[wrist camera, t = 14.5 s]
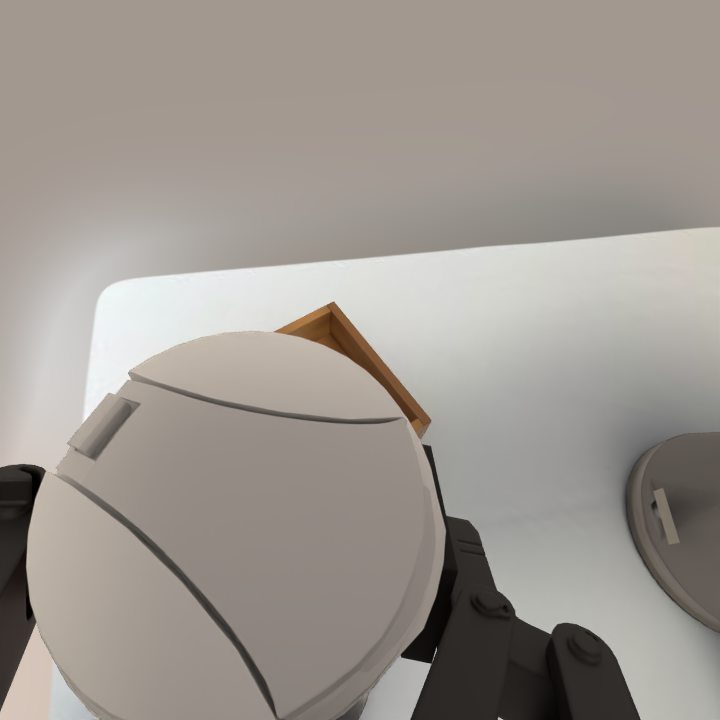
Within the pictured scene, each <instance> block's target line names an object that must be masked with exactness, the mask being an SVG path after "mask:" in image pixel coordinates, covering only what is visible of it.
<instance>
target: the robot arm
mask: <svg viewBox="0 0 720 720" xmlns="http://www.w3.org/2000/svg"><path fill="white" fill-rule="evenodd" d="M422 446H423V449H424V451H425V454H426V456H427V459H428V462H429V464H430V467H431V470H432V475H433V480H434V484H435V489H436V493H437V498H438V501H439V505H440V509H441V513H442V517H443V521H444V525H445V529H446V535H445V549H444V563H443V567H442V572H441V576H440V581H439V585H438V590H437V594H436V598H435V600H434V603H433V605H432V608H431V611H430V613H429V616H428V618H427V621H426V624H425V626H424V629H423V630H422V631H421V632H420V634H419V635H418V636H417V637H416V638H415V639H414V640H413V641H412V642H411V643H410V645H409V646H408V647H407V648H406V649H405V650H404V651H403V652H402V653H401V658H406V659H411V660H416V661H421V662H426V663H431V664H432V665H431V667H430V670H429V673H428V675H427V678H426V681H425V683H424V686H423V688H422V691H421V694H420V696H419V699H418V701H417V704H416V707H415V709H414V712H413V715H412V717H411V720H498V717H500V718H501V719H503V720H641V719H640V717H639V714H638V712H637V709H636V707H635V704H634V702H633V699H632V697H631V694H630V691H629V689H628V686H627V684H626V681H625V679H624V676H623V674H622V671H621V669H620V666H619V664H618V661H617V659H616V657H615V655H614V654H613V652H612V650H611V649H610V648H609V646H608V645H607V644H606V643H605V642H604V641H603V640H602V639H601V638H600V637H598V636H597V635H595V634H594V633H592V632H591V631H590V630H588V629H586V628H583V627H581V626H579V625H577V624H571V623H562V624H557V626H556V627H555V628H554V629H553V631H552V634H549V633H547V632H545V631H542V630H540V629H538V628H536V627H534V626H531V625H529V624H528V623H526V622H524V621H522V620H520V619H519V618H518V617H516V615H515V610H514V608H513V606H512V604H511V603H510V601H509V600H508V599H507V598H506V597H505V596H504V595H503V594H502V593H500V592H498V591H497V589H496V586H495V583H494V580H493V577H492V574H491V571H490V567H489V564H488V561H487V558H486V557H485V552H484V549H483V547H482V542H481V539H480V536H479V533H478V531H477V530H476V529H475V528H474V527H473V525H472V524H471V523H470V522H469V521H468V520H464V519H459V518H454V517H449V516H446V513H445V509H444V504H443V500H442V495H441V490H440V486H439V481H438V477H437V472H436V467H435V463H434V458H433V454H432V449H431V446H428V445H423V444H422ZM45 472H46V470H45V469H44V468H42V467H39V466H36V465H27V464H19V465H9V466H5V467H1V468H0V711H1V708H2V706H3V703H4V701H5V698H6V696H7V693H8V691H9V688H10V686H11V683H12V681H13V679H14V676H15V673H16V671H17V669H18V666H19V664H20V661H21V659H22V656H23V654H24V651H25V649H26V646H27V644H28V641H29V639H30V636H31V634H32V631H33V629H34V627H35V624H36V619H35V616H34V613H33V610H32V606H31V603H30V596H29V588H28V579H27V571H26V561H27V543H28V531H29V526H30V522H31V517H32V513H33V508H34V503H35V499H36V496H37V493H38V491H39V488H40V485H41V483H42V480H43V478H44V475H45ZM626 505H627V514H628V519H629V524H630V528H631V531H632V535H633V537H634V540H635V543H636V545H637V547H638V549H639V552H640V554H641V556H642V557H643V559H644V561H645V563H646V565H647V566H648V568H649V569H650V571H651V573H652V574H653V575H654V577H655V578H656V580H657V581H658V582H659V584H660V585H661V586H662V587H663V588H664V590H665V591H666V592H667V593H668V594H669V595H670V596H671V597H672V598H673V599H674V600H675V601H676V602H677V603H678V604H679V605H680V606H681V607H682V608H683V609H684V610H686V611H687V612H688V613H689V614H691V615H692V616H693V617H694V618H696V619H697V620H699V621H700V622H702V623H703V624H705V625H706V626H708V627H710V628H712V629H713V630H715V631H717V632H719V633H720V432H709V433H690V434H684V435H680V436H676V437H674V438H671V439H669V440H667V441H665V442H663V443H661V444H659V445H657V446H655V447H653V448H651V449H650V450H648V451H647V452H646V453H645V454H644V455H643V456H642V457H641V458H640V459H639V460H638V462H637V463H636V464H635V466H634V468H633V470H632V472H631V475H630V478H629V481H628V486H627V495H626ZM436 646H437V652H436V654H435V657H434V653H435V650H436ZM433 657H434V660H433ZM432 660H433V662H432Z"/></svg>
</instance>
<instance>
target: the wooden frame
mask: <svg viewBox="0 0 720 720" xmlns="http://www.w3.org/2000/svg"><path fill="white" fill-rule="evenodd" d="M275 332H276V333H282V334H287V335H292V336H297V337H301V338H304V339H307V340H310V341H313V342H316V343H319V344H322V345H325V346H326V347H328V348H330V349H332V350H334V351H336V352H338V353H340V354H342V355H344V356H346V357H348V358H349V359H350V360H352V361H353V362H355V363H356V364H358V365H359V366H360V367H362V368H363V369H365V370H366V371H367V372H368V373H369V374H370V375H371V376H372V377H373V378H375V379H376V380H377V381H378V382H379V383H380V384H381V385H382V386H383V387H384V388H385V389H386V391H387V392H388V393H389V394H390V396H391V397H392V398H393V400H394V401H395V402H396V403H397V405H398V406H399V407H400V409H401V411H402V412H403V413H404V415H405V416H406V417H407V418H408V420H409V422H410V424H411V425H412V427H413V429H414V431H415V432H416V434H417V436H418V438H419V439H421V438H422V436H423V434H424V433H425V431H426V429H427V428H428V426H429V424H430V423H431V419H430V418H429V417H428V415H427V414H426V413H425V412H424V411H423V409H422V408H421V407H420V406H419V405H418V403H417V402H416V401H415V400H414V398H413V397H412V396H411V395H410V394H409V392H408V391H407V390H406V389H405V388H404V386H403V385H402V384H401V383H400V381H399V380H398V379H397V378H396V377H395V375H394V374H393V373H392V372H391V370H390V369H389V368H388V367H387V366H386V364H385V363H384V362H383V361H382V360H381V358H380V357H379V356H378V355H377V353H376V352H375V351H374V350H373V349H372V347H371V346H370V345H369V344H368V342H367V341H366V340H365V339H364V338H363V336H362V335H361V334H360V333H359V332H358V330H357V329H356V328H355V327H354V325H353V324H352V323H351V322H350V321H349V319H348V318H347V317H346V316H345V315H344V313H343V312H342V311H341V310H340V308H339V307H338V306H337V305H336V304H335V302H332V303H330V304H328V305H327V306H324V307H322V308H320V309H318V310H316V311H314V312H312V313H310V314H308V315H306V316H304V317H302V318H300V319H298V320H296V321H294V322H292V323H290V324H288V325H286V326H284V327H283V328H281V329H279V330H277V331H275Z"/></svg>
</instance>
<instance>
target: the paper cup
mask: <svg viewBox="0 0 720 720" xmlns="http://www.w3.org/2000/svg"><path fill="white" fill-rule="evenodd" d="M128 374H129V376H130V378H131V380H127V382H126V383H125V384H124V385H123V386H122V388H121V389H120V390H119V391H118V392H117V394H115V395H114V394H111V393H108V394H107V396H106V397H105V398H104V399H103V400H102V402H101V403H100V404H99V405H98V406H97V408H96V409H95V410H94V411H93V412H92V414H91V415H90V416H89V417H88V418H87V420H86V421H85V422H84V423H83V424H82V426H81V427H80V428H79V429H78V430H77V432H76V433H75V434H74V435H73V436H72V438H71V439H70V440H69V441H68V442H67V444H69V445H70V446H71V447H70V448H69V450H68V452H67V454H66V456H65V457H64V458H63V459H62V461H61V462H60V463H59V464H58V465H57V467H56V468H57V469H58V471H57V473H56V474H55V475H54V474H52V473H50V472H48V471H46V472H45V475H44V478H43V480H42V483H41V485H40V488H39V491H38V493H37V496H36V499H35V503H34V508H33V513H32V517H31V522H30V526H29V531H28V543H27V561H26V571H27V579H28V588H29V596H30V603H31V606H32V610H33V613H34V616H35V619H36V622H37V626H38V629H39V632H40V635H41V638H42V639H43V641H44V643H45V645H46V647H47V648H48V650H49V652H50V654H51V656H52V658H53V660H54V661H55V663H56V665H57V667H58V669H59V671H60V672H61V674H62V676H63V678H64V680H65V682H66V683H67V685H68V686H69V687H70V689H71V690H72V691H73V692H74V693H75V694H76V696H77V697H78V698H79V699H80V700H81V701H82V703H83V704H84V705H85V706H86V707H87V708H88V710H89V711H90V712H91V713H92V714H93V715H95V716H96V717H97V718H99V719H100V720H336V719H337V718H339V717H340V716H342V715H344V714H345V713H346V712H347V711H348V710H349V709H350V708H351V707H352V706H354V705H355V704H356V703H357V702H358V701H359V700H360V699H361V698H363V697H364V696H365V695H366V694H367V693H368V692H369V691H370V690H371V689H373V688H374V686H375V685H376V684H377V683H378V681H379V680H380V679H381V678H382V676H383V675H384V674H385V673H386V671H387V670H388V669H389V668H390V667H391V665H392V664H393V663H394V662H395V660H396V659H397V658H398V657H399V656H400V655H401V653H402V652H403V651H404V650H405V649H406V648H407V647H408V646H409V645H410V643H411V642H412V641H413V640H414V639H415V638H416V637H417V636H418V635H419V634H420V632H421V631H422V630H423V629H424V626H425V624H426V621H427V618H428V616H429V613H430V611H431V608H432V605H433V603H434V600H435V598H436V594H437V590H438V585H439V581H440V576H441V572H442V567H443V563H444V549H445V535H446V529H445V525H444V521H443V517H442V513H441V509H440V505H439V501H438V498H437V493H436V489H435V484H434V480H433V475H432V470H431V467H430V464H429V462H428V459H427V456H426V454H425V451H424V449H423V446H422V443H421V441H420V439H419V438H418V436H417V434H416V432H415V431H414V429H413V427H412V425H411V424H410V422H409V420H408V418H407V417H406V416H405V415H404V413H403V412H402V411H401V409H400V407H399V406H398V405H397V403H396V402H395V401H394V400H393V398H392V397H391V396H390V394H389V393H388V392H387V391H386V389H385V388H384V387H383V386H382V385H381V384H380V383H379V382H378V381H377V380H376V379H375V378H373V377H372V376H371V375H370V374H369V373H368V372H367V371H366V370H365V369H363V368H362V367H360V366H359V365H358V364H356V363H355V362H353V361H352V360H350V359H349V358H348V357H346V356H344V355H342V354H340V353H338V352H336V351H334V350H332V349H330V348H328V347H326V346H325V345H322V344H319V343H316V342H313V341H310V340H307V339H304V338H301V337H297V336H292V335H287V334H282V333H276V332H260V331H244V332H229V333H222V334H217V335H212V336H207V337H202V338H198V339H195V340H192V341H189V342H186V343H183V344H180V345H177V346H174V347H172V348H170V349H168V350H166V351H164V352H161V353H159V354H157V355H155V356H153V357H151V358H149V359H147V360H146V361H144V362H143V363H141V364H139V365H138V366H136V367H135V368H133V369H131V370H130V371H129V372H128Z"/></svg>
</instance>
